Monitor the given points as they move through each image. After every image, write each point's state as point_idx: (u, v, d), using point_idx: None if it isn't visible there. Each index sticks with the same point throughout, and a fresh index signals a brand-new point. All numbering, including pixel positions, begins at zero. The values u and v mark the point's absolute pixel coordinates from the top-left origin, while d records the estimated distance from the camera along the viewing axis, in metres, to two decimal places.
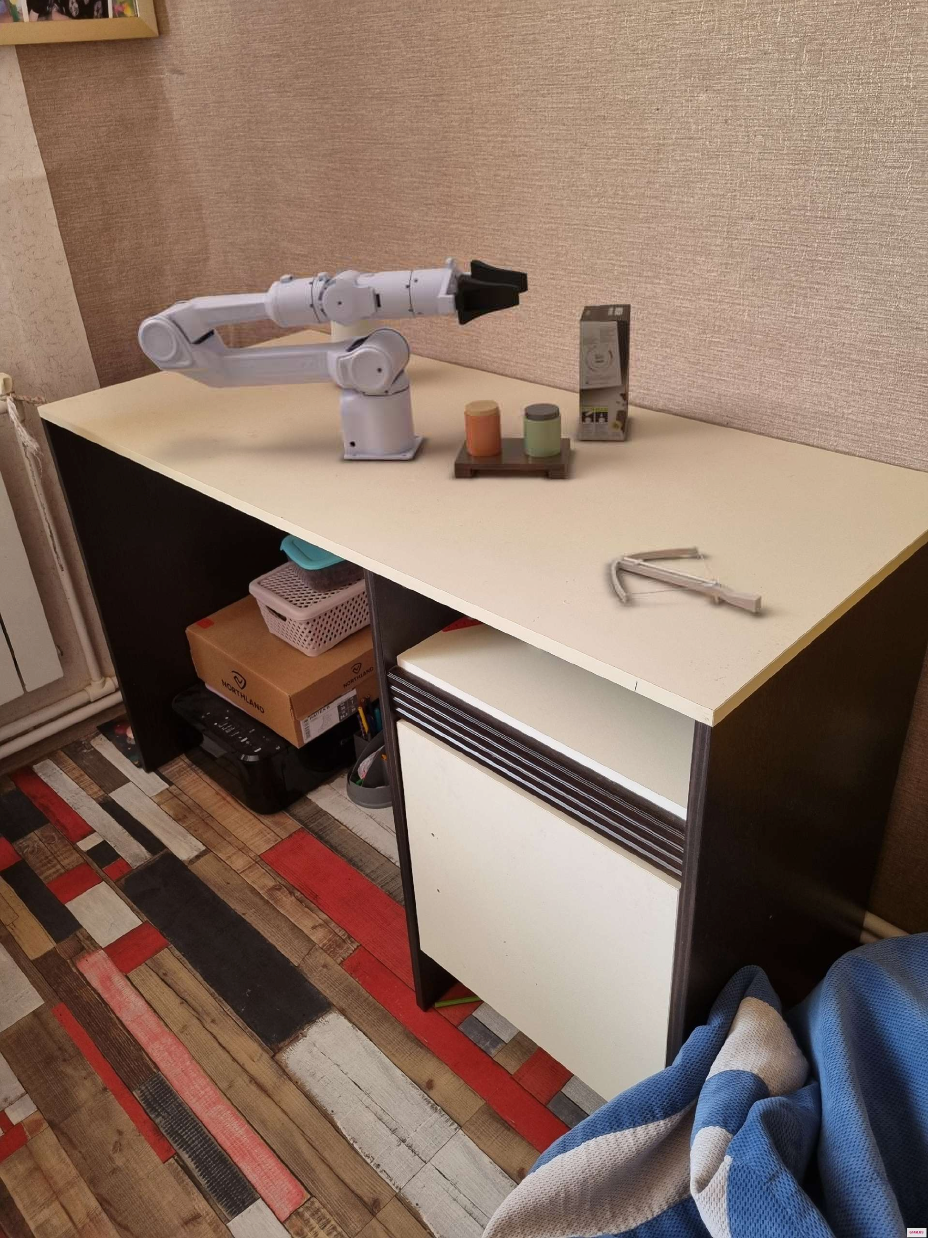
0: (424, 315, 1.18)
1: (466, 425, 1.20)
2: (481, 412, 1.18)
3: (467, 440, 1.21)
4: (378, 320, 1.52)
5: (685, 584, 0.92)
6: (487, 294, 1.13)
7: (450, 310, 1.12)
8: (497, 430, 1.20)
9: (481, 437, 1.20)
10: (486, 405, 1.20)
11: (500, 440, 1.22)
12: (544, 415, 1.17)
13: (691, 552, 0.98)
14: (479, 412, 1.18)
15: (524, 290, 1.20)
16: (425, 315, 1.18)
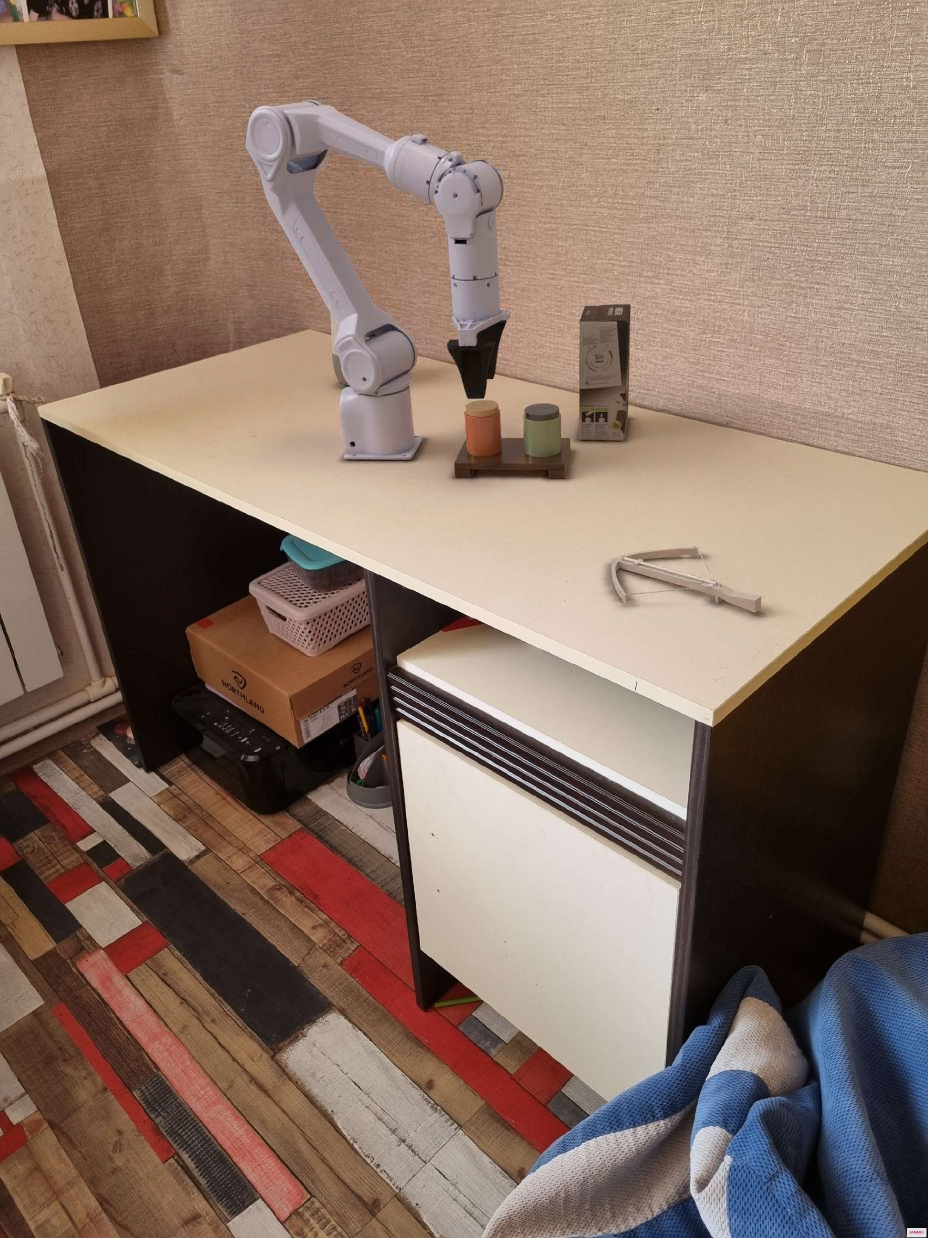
0: (453, 289, 1.11)
1: (466, 425, 1.20)
2: (481, 412, 1.18)
3: (467, 440, 1.21)
4: None
5: (685, 584, 0.92)
6: (476, 369, 1.13)
7: (462, 342, 1.09)
8: (497, 430, 1.20)
9: (481, 437, 1.20)
10: (486, 405, 1.20)
11: (500, 440, 1.22)
12: (544, 415, 1.17)
13: (691, 552, 0.98)
14: (479, 412, 1.18)
15: None
16: (453, 290, 1.11)
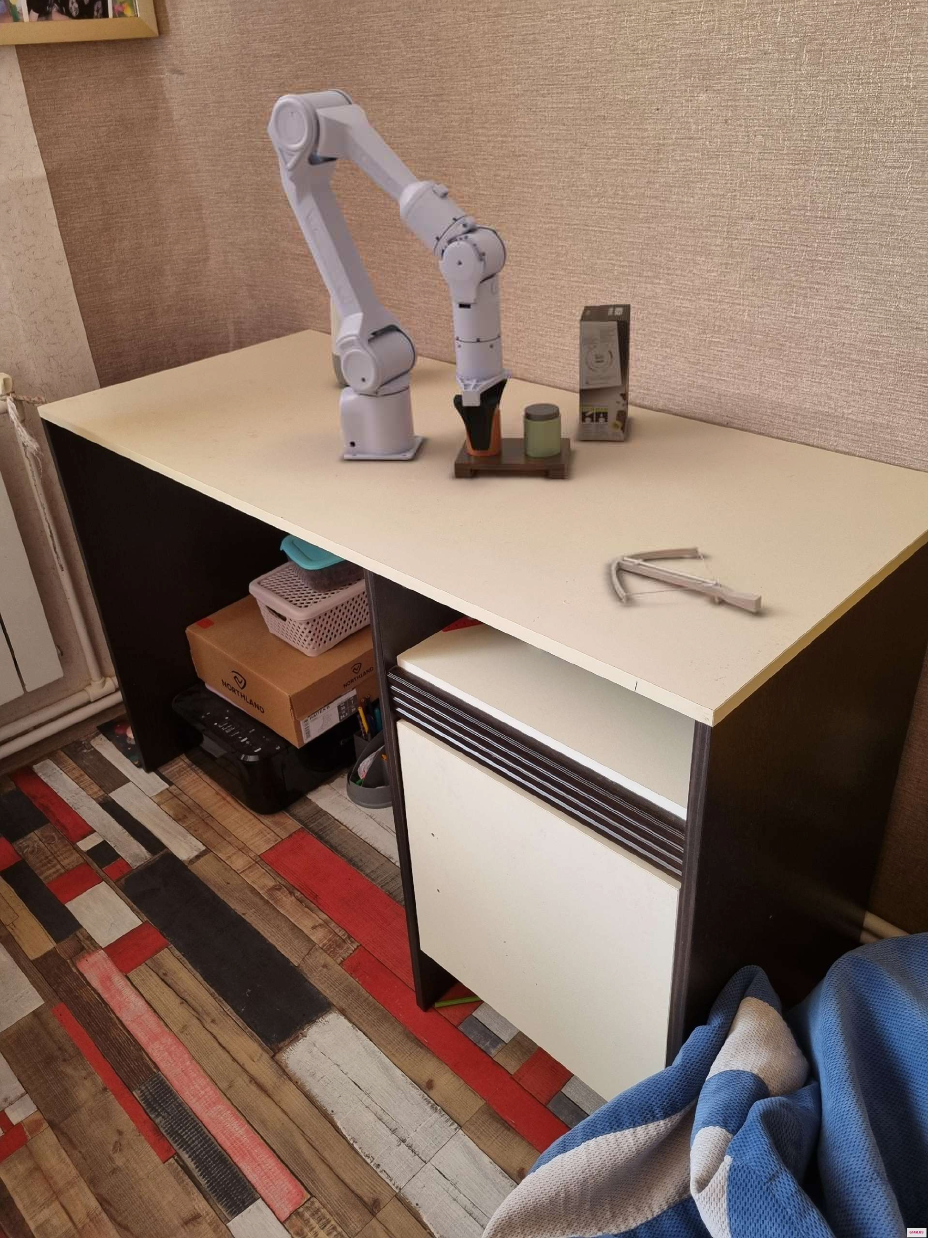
0: (457, 350, 1.15)
1: None
2: None
3: (467, 440, 1.21)
4: None
5: (685, 584, 0.92)
6: (481, 422, 1.18)
7: (465, 403, 1.13)
8: (497, 430, 1.20)
9: None
10: None
11: (500, 440, 1.22)
12: (544, 415, 1.17)
13: (691, 552, 0.98)
14: None
15: None
16: (457, 351, 1.15)
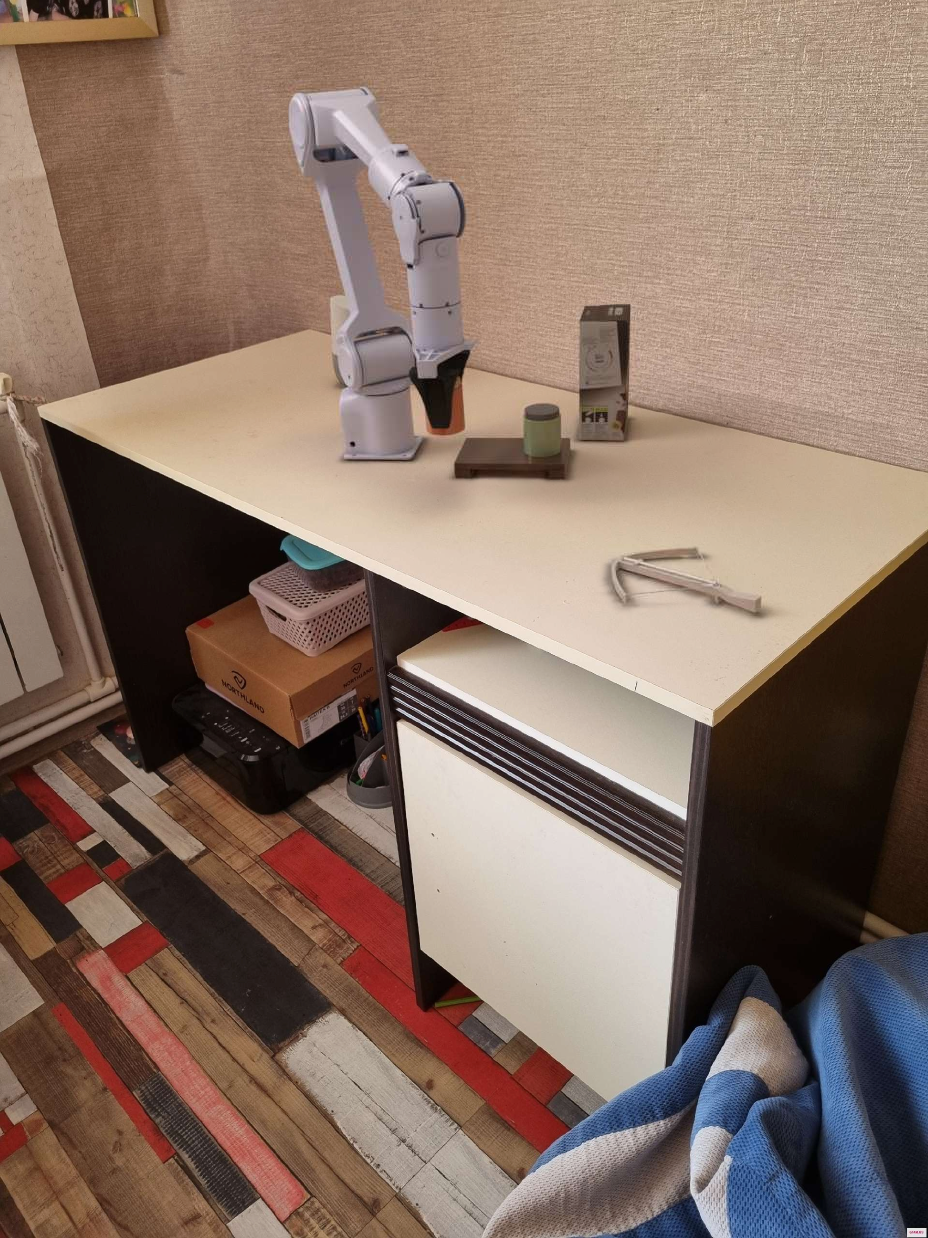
0: (413, 317, 1.05)
1: None
2: None
3: (427, 418, 1.11)
4: None
5: (685, 584, 0.92)
6: (440, 397, 1.08)
7: (421, 374, 1.02)
8: (459, 407, 1.10)
9: None
10: None
11: (463, 418, 1.11)
12: (544, 415, 1.17)
13: (691, 552, 0.98)
14: None
15: None
16: (413, 318, 1.05)
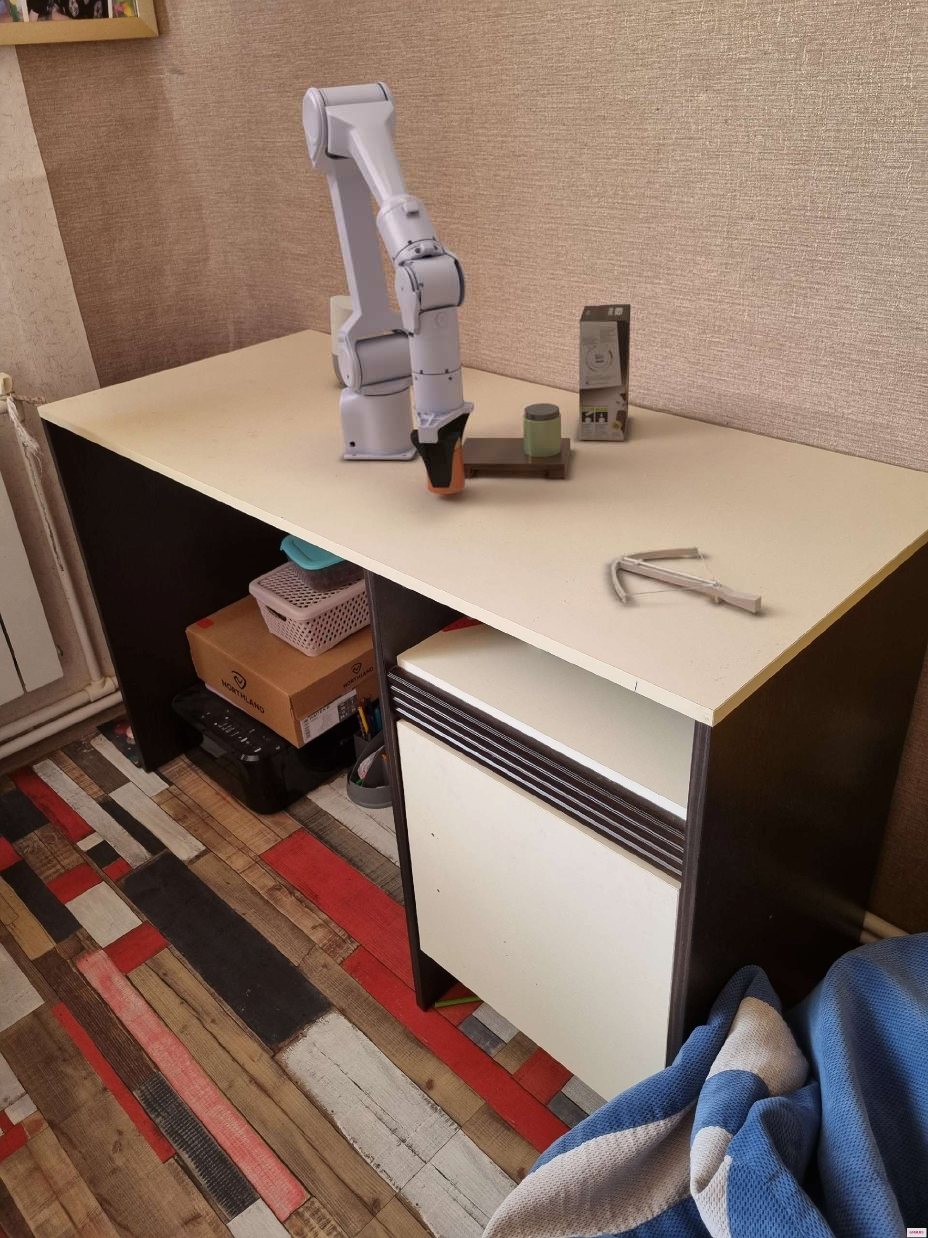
0: (414, 382, 1.08)
1: None
2: None
3: (427, 476, 1.14)
4: None
5: (685, 584, 0.92)
6: (441, 459, 1.11)
7: (422, 439, 1.05)
8: (459, 466, 1.13)
9: None
10: None
11: (463, 476, 1.14)
12: (544, 415, 1.17)
13: (691, 552, 0.98)
14: None
15: None
16: (414, 383, 1.08)
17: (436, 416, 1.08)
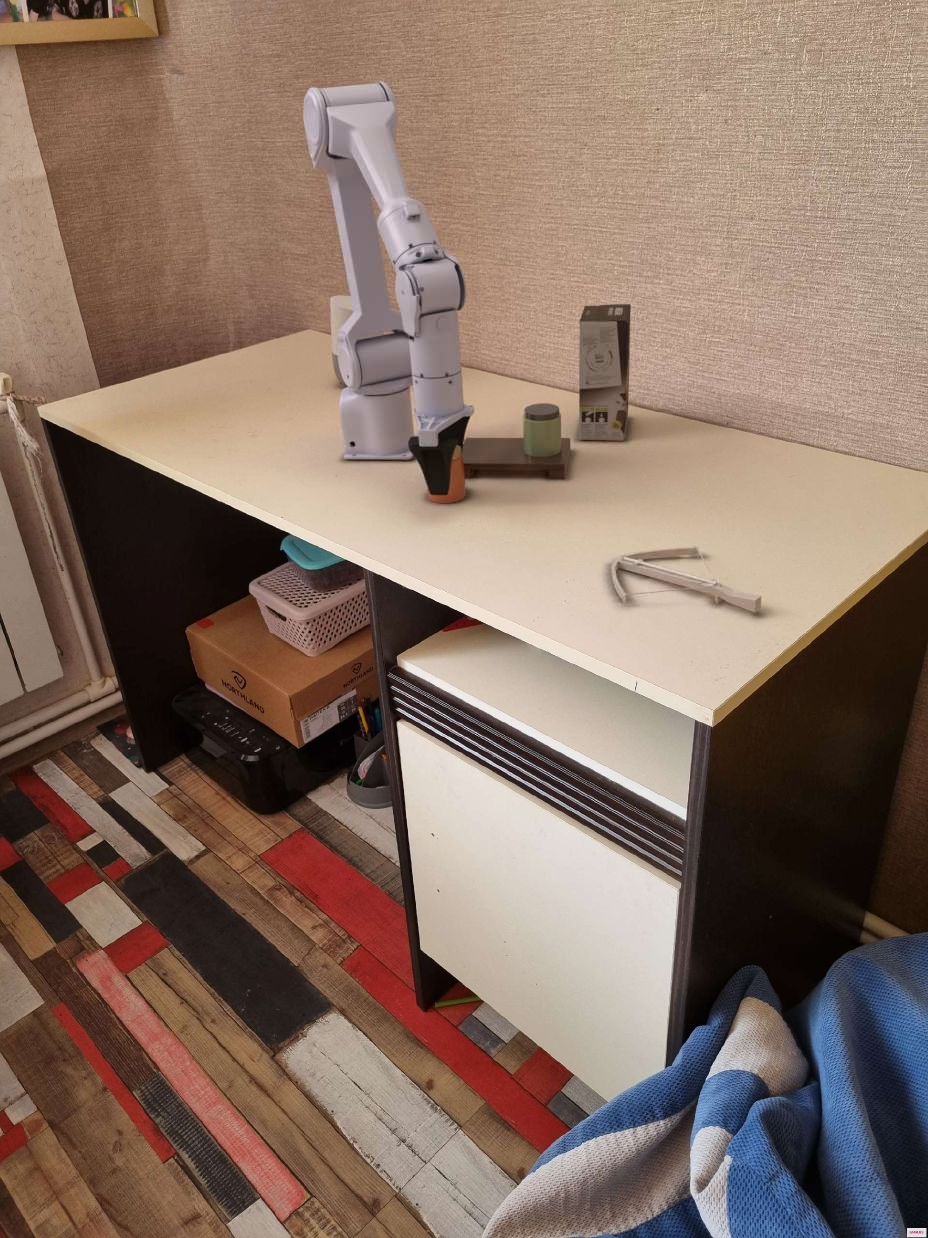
0: (414, 386, 1.08)
1: None
2: None
3: None
4: None
5: (685, 584, 0.92)
6: (439, 466, 1.10)
7: (422, 443, 1.05)
8: (460, 476, 1.14)
9: None
10: None
11: (463, 486, 1.15)
12: (544, 415, 1.17)
13: (691, 552, 0.98)
14: None
15: None
16: (414, 387, 1.08)
17: (436, 419, 1.08)
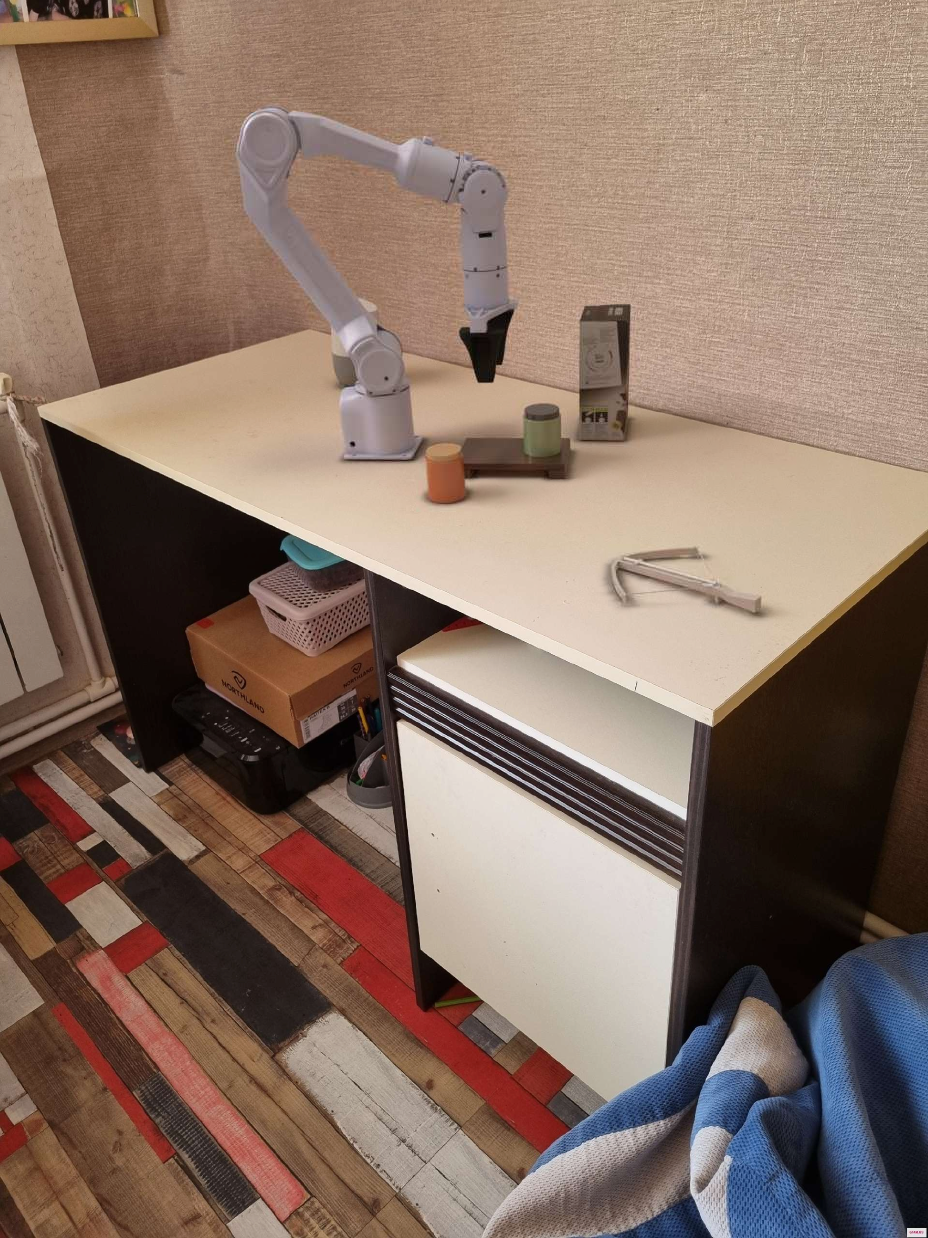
0: (465, 280, 1.19)
1: (427, 470, 1.14)
2: (442, 457, 1.12)
3: (428, 486, 1.15)
4: (378, 320, 1.52)
5: (685, 584, 0.92)
6: (486, 354, 1.21)
7: (473, 329, 1.17)
8: (460, 476, 1.14)
9: (442, 483, 1.13)
10: (448, 450, 1.13)
11: (463, 486, 1.15)
12: (544, 415, 1.17)
13: (691, 552, 0.98)
14: (440, 457, 1.12)
15: None
16: (465, 281, 1.19)
17: (484, 310, 1.19)
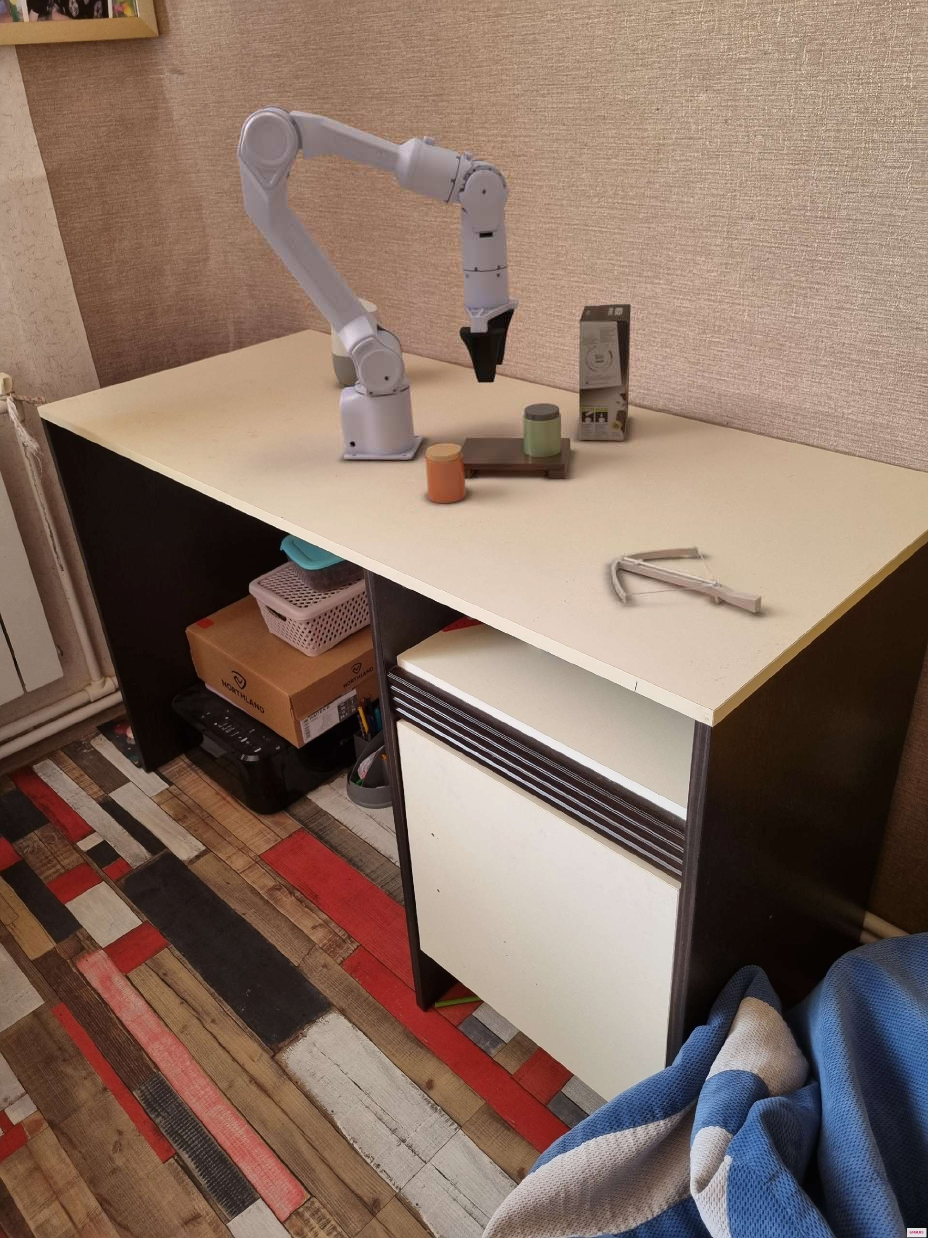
0: (465, 280, 1.19)
1: (427, 470, 1.14)
2: (442, 457, 1.12)
3: (428, 486, 1.15)
4: (378, 320, 1.52)
5: (685, 584, 0.92)
6: (486, 354, 1.21)
7: (473, 329, 1.17)
8: (460, 476, 1.14)
9: (442, 483, 1.13)
10: (448, 450, 1.13)
11: (463, 486, 1.15)
12: (544, 415, 1.17)
13: (691, 552, 0.98)
14: (440, 457, 1.12)
15: None
16: (465, 281, 1.19)
17: (485, 310, 1.19)
